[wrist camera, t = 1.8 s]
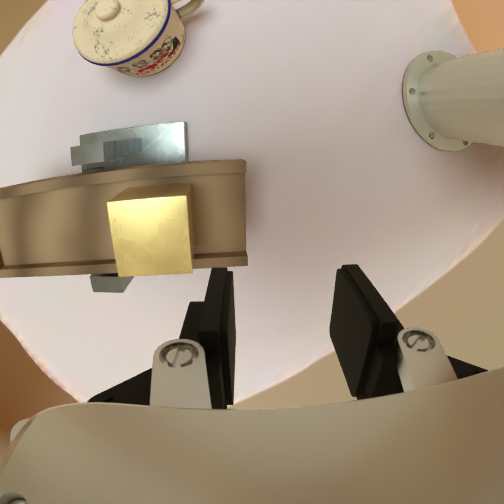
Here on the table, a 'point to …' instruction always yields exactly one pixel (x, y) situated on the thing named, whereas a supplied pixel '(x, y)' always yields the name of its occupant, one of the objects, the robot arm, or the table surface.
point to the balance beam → (97, 219)
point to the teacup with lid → (131, 33)
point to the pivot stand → (129, 165)
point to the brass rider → (153, 230)
